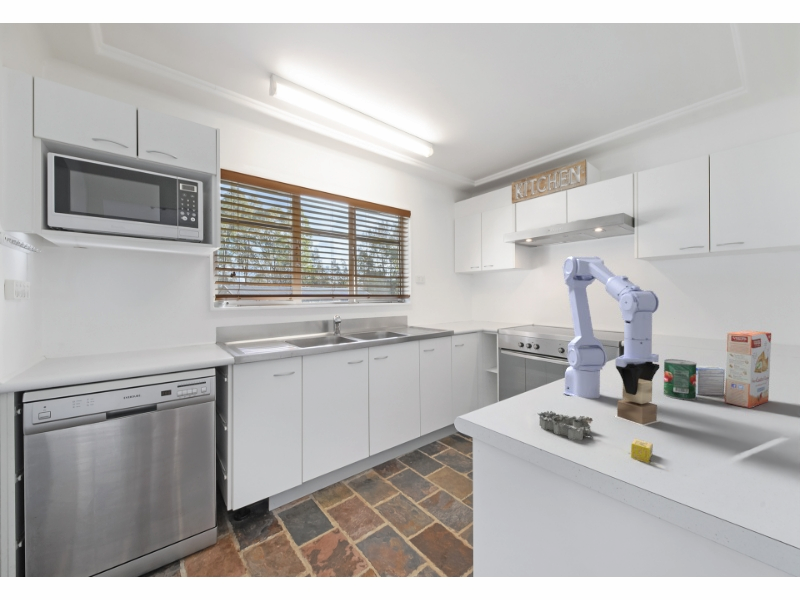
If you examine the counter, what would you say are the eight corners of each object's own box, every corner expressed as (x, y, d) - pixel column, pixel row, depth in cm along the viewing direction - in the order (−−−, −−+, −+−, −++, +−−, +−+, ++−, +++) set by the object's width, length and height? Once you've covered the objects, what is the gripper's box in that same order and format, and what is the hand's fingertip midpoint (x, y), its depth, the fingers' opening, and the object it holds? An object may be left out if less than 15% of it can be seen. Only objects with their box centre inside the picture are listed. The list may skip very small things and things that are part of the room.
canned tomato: (657, 392, 112) (658, 358, 111) (684, 393, 110) (685, 359, 110) (673, 399, 104) (674, 363, 103) (702, 400, 103) (703, 364, 102)
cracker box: (751, 409, 95) (753, 334, 94) (723, 403, 100) (724, 332, 100) (771, 402, 101) (772, 331, 101) (743, 396, 107) (744, 329, 106)
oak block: (622, 398, 87) (622, 379, 87) (632, 396, 89) (633, 377, 89) (641, 404, 83) (641, 383, 83) (651, 401, 85) (652, 381, 85)
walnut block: (617, 416, 88) (617, 401, 88) (631, 412, 90) (631, 397, 90) (642, 424, 82) (642, 408, 82) (656, 420, 85) (656, 404, 85)
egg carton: (595, 436, 78) (595, 418, 78) (575, 443, 74) (576, 425, 74) (553, 421, 87) (553, 405, 87) (534, 426, 83) (534, 410, 83)
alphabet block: (652, 458, 67) (652, 442, 67) (649, 463, 65) (649, 447, 65) (634, 453, 70) (634, 438, 70) (630, 458, 67) (630, 442, 67)
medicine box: (713, 392, 112) (713, 365, 112) (724, 396, 107) (725, 368, 107) (687, 391, 112) (687, 365, 112) (697, 395, 108) (698, 368, 108)
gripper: (636, 342, 79) (636, 400, 79) (672, 339, 85) (671, 392, 86) (607, 339, 86) (606, 392, 86) (642, 335, 92) (641, 386, 92)
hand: (637, 392), depth 86 cm, fingers closed on oak block, 4 cm apart
